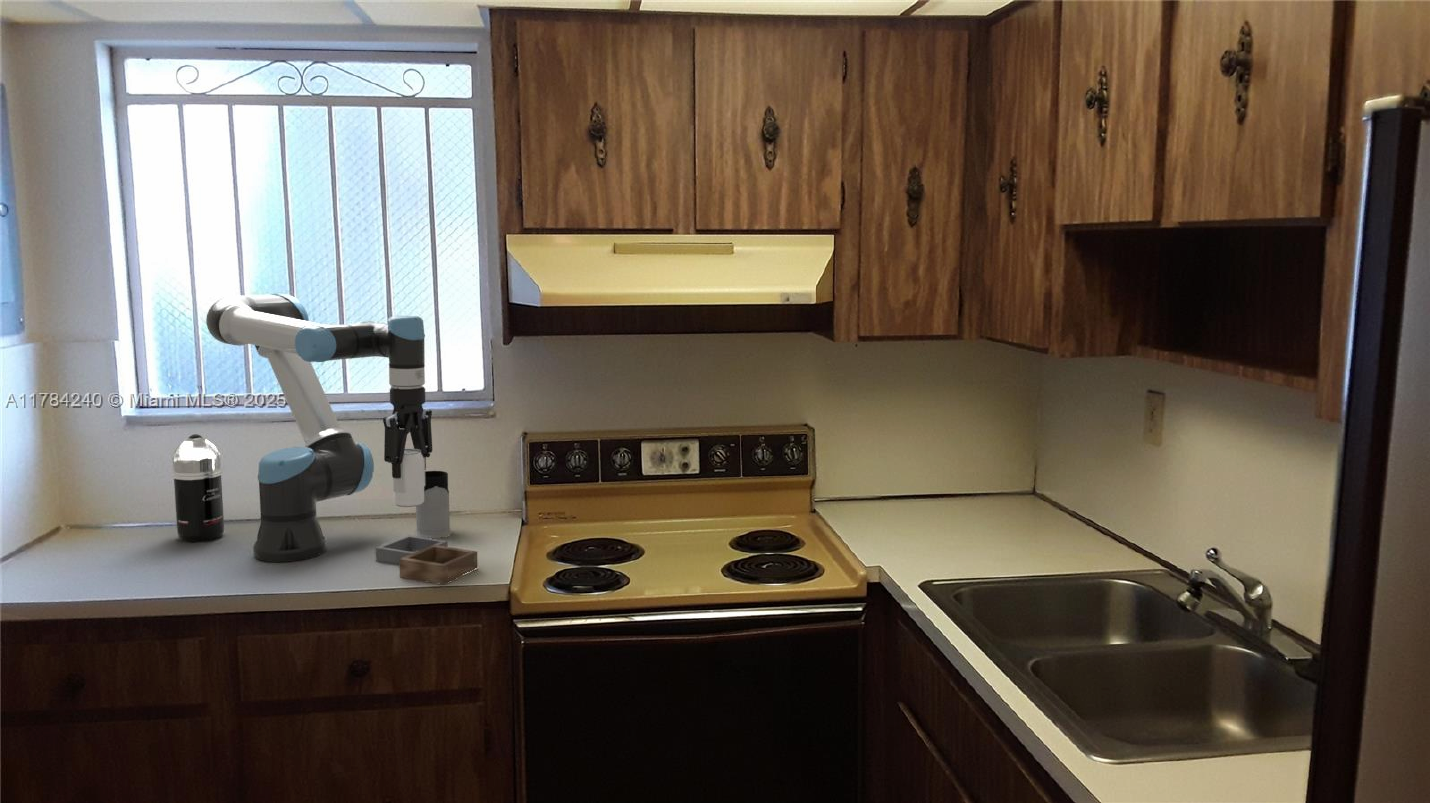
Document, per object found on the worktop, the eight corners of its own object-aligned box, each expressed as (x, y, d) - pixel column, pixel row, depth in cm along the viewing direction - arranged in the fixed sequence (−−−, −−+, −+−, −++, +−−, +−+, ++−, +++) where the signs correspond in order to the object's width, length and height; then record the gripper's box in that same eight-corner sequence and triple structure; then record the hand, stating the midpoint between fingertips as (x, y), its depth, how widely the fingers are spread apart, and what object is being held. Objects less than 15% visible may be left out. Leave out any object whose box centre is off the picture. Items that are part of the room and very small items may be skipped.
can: (415, 508, 218) (414, 455, 216) (388, 506, 219) (387, 453, 217) (429, 501, 224) (428, 449, 222) (403, 499, 225) (402, 447, 223)
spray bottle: (166, 540, 233) (160, 436, 229) (203, 529, 242) (197, 429, 239) (198, 545, 229) (192, 439, 225) (235, 534, 239) (229, 432, 235)
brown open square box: (399, 577, 209) (399, 558, 209) (434, 562, 220) (434, 544, 219) (444, 584, 205) (443, 566, 205) (477, 569, 216) (477, 551, 215)
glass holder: (419, 540, 236) (417, 479, 234) (406, 526, 248) (404, 467, 246) (455, 536, 240) (454, 475, 238) (441, 522, 253) (439, 464, 250)
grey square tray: (376, 560, 220) (375, 547, 220) (409, 547, 230) (408, 535, 230) (416, 567, 216) (415, 554, 216) (447, 553, 226) (447, 541, 226)
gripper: (391, 392, 207) (394, 499, 211) (448, 382, 225) (450, 481, 228) (363, 390, 210) (366, 495, 214) (421, 380, 228) (423, 478, 231)
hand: (409, 488), depth 221 cm, fingers closed on can, 6 cm apart
